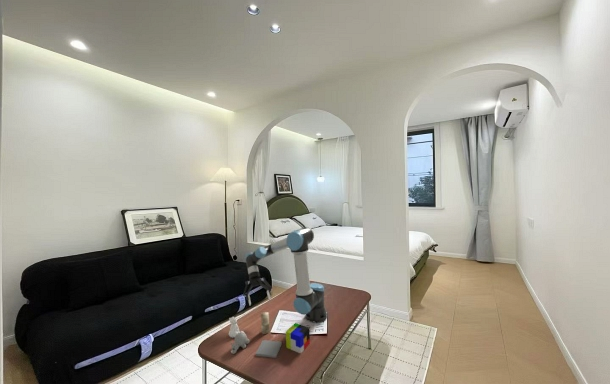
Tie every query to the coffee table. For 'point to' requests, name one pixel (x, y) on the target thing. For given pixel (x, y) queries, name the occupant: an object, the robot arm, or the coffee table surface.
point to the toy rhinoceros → (239, 342)
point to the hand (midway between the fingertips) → (260, 302)
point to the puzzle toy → (297, 337)
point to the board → (268, 348)
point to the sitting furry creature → (234, 327)
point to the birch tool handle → (265, 322)
